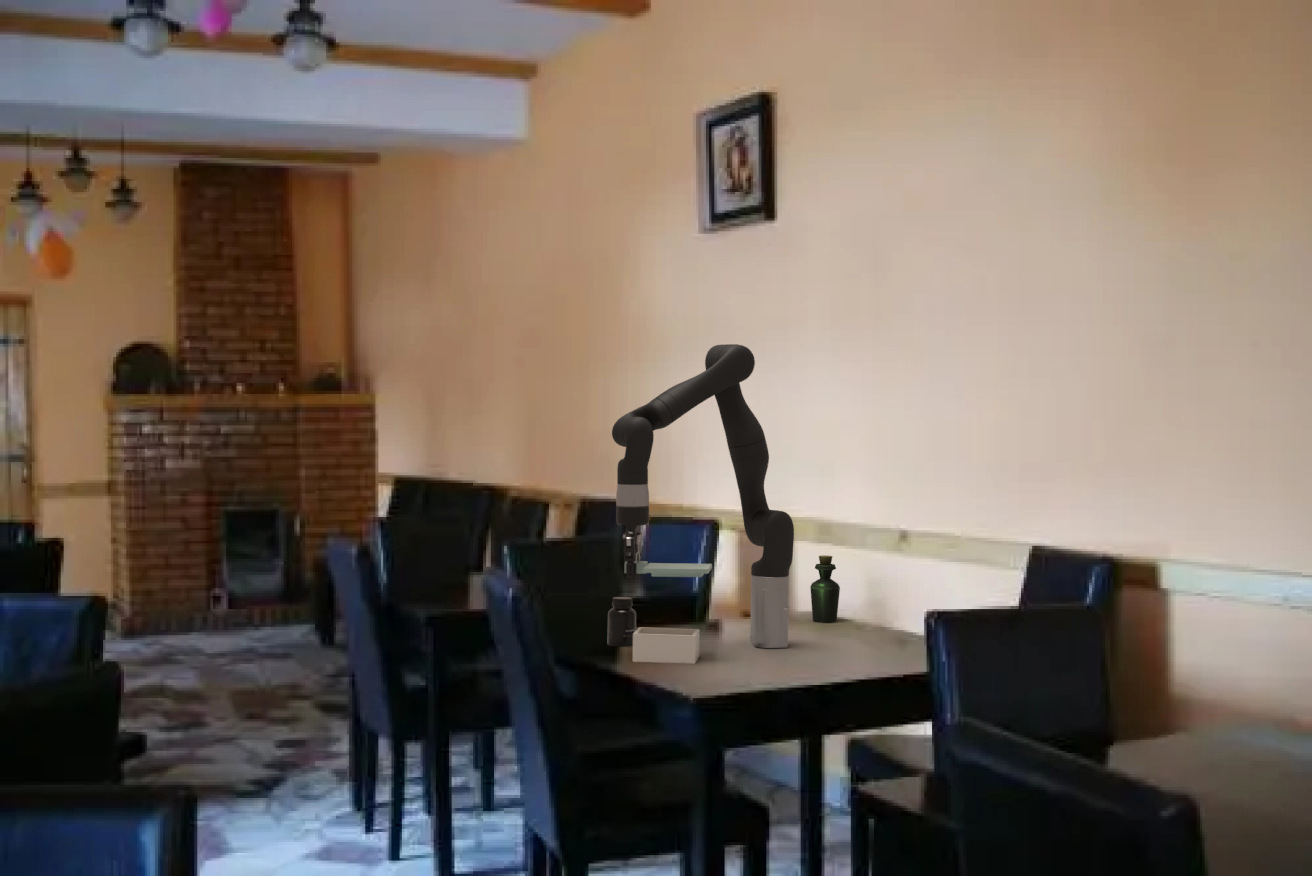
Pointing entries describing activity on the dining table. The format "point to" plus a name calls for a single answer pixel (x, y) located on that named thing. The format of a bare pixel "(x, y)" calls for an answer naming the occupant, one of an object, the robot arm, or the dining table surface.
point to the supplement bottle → (621, 622)
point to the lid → (671, 569)
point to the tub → (666, 645)
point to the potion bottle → (825, 593)
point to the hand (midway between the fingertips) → (632, 578)
